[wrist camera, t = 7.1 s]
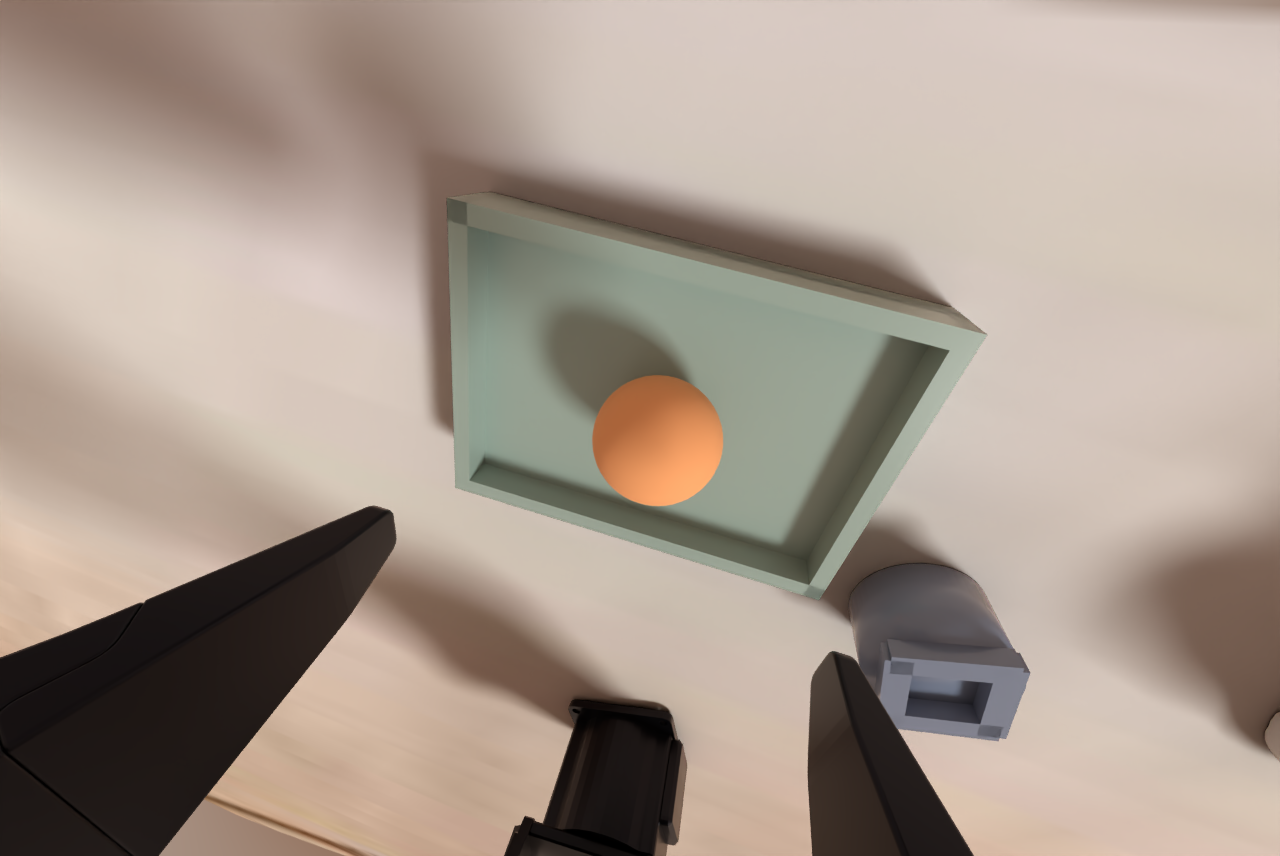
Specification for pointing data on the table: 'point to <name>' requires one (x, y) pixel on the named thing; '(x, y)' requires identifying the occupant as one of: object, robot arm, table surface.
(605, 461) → the ball
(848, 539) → the tray
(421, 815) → the table surface
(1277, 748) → the mug
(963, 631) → the cylinder with square socket
